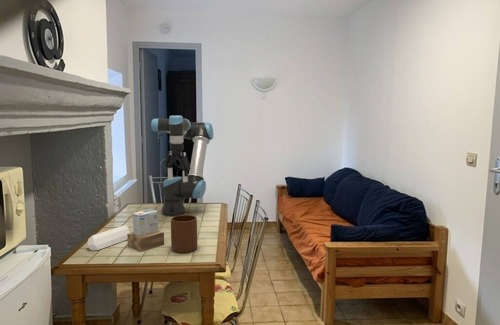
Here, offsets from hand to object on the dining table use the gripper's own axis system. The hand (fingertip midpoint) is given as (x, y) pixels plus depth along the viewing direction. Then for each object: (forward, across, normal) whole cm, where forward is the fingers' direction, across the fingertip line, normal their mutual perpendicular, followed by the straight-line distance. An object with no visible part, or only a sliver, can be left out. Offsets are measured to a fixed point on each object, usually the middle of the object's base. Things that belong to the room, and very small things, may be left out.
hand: (177, 180), depth 217 cm
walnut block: (+27, +13, -30) cm, 43 cm away
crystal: (+27, -3, -41) cm, 49 cm away
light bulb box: (+21, +13, -30) cm, 39 cm away
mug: (+27, +29, -19) cm, 44 cm away
